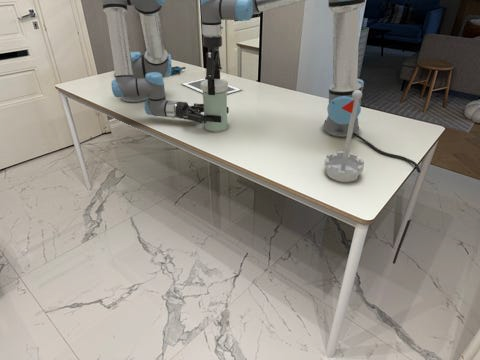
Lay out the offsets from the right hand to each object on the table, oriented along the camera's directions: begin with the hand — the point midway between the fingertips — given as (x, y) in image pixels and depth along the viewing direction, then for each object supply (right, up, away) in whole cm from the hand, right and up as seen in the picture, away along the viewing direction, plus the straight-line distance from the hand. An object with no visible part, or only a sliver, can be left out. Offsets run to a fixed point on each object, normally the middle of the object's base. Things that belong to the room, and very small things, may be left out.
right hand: (214, 89), depth 144 cm
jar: (0, -14, +9) cm, 17 cm away
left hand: (+4, -10, +5) cm, 12 cm away
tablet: (-6, +16, +56) cm, 59 cm away
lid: (0, +2, -1) cm, 3 cm away
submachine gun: (-43, +32, +81) cm, 97 cm away
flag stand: (+47, -36, -25) cm, 64 cm away
